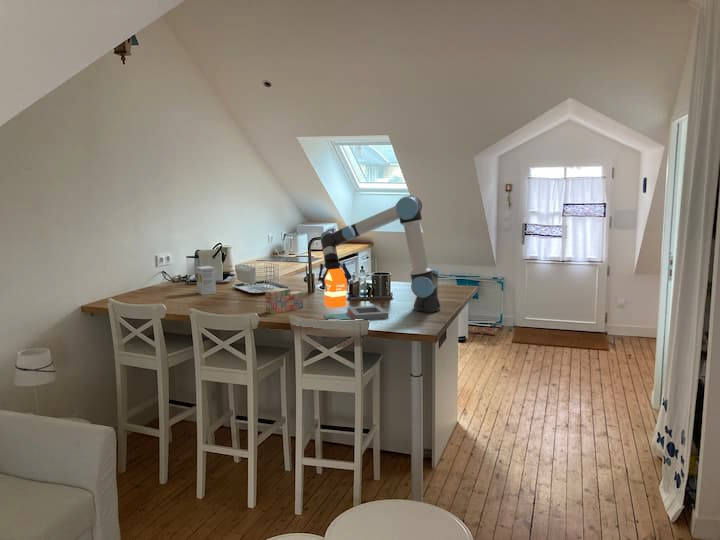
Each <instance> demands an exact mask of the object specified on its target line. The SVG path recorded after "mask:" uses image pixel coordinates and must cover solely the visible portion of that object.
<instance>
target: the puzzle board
mask: <svg viewBox="0 0 720 540" xmlns="http://www.w3.org/2000/svg"><path fill="white" fill-rule="evenodd" d="M346 307H347V306H346ZM346 312H347V314H348V315H349V317H351V318H352V319H353V320H354V319H369V321H370V320H372V319H374V320H381V319H380V318H388V319H389V312H388V311H387V310H385V309H384V308H382V307H381V306H380V305H367V306H351V307H347V311H346Z"/></svg>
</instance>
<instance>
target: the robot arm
mask: <svg viewBox="0 0 720 540" xmlns="http://www.w3.org/2000/svg"><path fill="white" fill-rule="evenodd" d="M422 209H423V202H422V201H421V199H420V198H419V197H417V196H415V195H406V196H405V195H404V196H403V197H401V198H399V200H398V201H397V202H396V203H395V205H394V206H392V207H390V208H388V209H385V210H383V211H381V212H378V213H376V214H374V215H371V216H369V217H367V218H364V219H362V220H360V221H358V222H356V223H353V224H351V225H347V226H344V227H342V228H340V229H338V230H337V231H335V232H332V231H330V230H328V231H324V232H322V233H321V234H320V243H321V248H322V253H323V260H324V264H323V263H320V264H319V273H318V274H319V275H318V279H317V281H318V282H320V283H321V286H322V287H324V293H325V292H327V290H328V289H327V283H326V279H325V277H326V275H327V272H328V270H330V269H339V268H342V270H343V272H344V275H345V278H346V292H349V285H350V280H351V278H352V275H351V273H350V271H349V269H348V268H347V267H346V263H345V262H343V263H340V261H339V257H338V251H337V246H339V245H341V244H344V243H346V242H349V241H351V240H354V239H357V238H358V237H361V236H362V235H365V234H367V233H370V232H372V231H374V230H377V229H380V228H381V227H382V228H383V227H384V226H386V225H389V224H391V223H393V222H396V221H399V223H400V225H402V226H403V228H404V233H405V234H404V235H405V238H406V243H407V245H406V246H407V248H408V254H409V260H410V264H411V271H410V273H409V275H410V279H411V285H410V286H411V287H410V289H411V291H412V293H413V294H414V295H415V299H414V300H415V301H414V303H413V311H415V310H416V312H419V311H422V312H421V313H436V312H435V311H437V312H440V311H441V310H442V309H441V308H442V307H441V303H440V300H439V297H438V295H439V292H438V291H439V271H438V270H437V269H433V268H432V269H431V268H430V267H429V265H428V264H429V263H428V259H427V254H426V248H425V243H424V239H423V233H422V228H421V222H422V220H423V219H422ZM324 268H325V272H324V274H323V276H322V273H323V269H324ZM440 309H441V310H440ZM439 310H440V311H439Z"/></svg>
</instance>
